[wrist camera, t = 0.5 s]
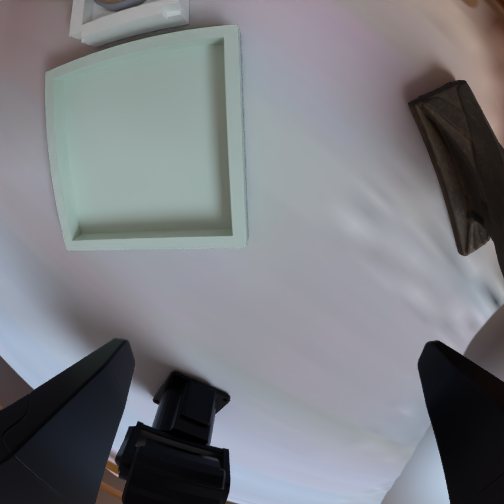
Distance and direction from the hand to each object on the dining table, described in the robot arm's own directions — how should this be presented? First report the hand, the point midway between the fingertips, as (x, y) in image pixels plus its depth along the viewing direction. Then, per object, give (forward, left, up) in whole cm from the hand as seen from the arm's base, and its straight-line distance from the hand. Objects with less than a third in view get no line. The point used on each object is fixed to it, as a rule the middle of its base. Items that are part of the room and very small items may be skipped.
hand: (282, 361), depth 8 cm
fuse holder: (+9, +17, -13) cm, 23 cm away
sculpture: (+12, -9, -13) cm, 20 cm away
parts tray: (0, +10, -13) cm, 16 cm away
